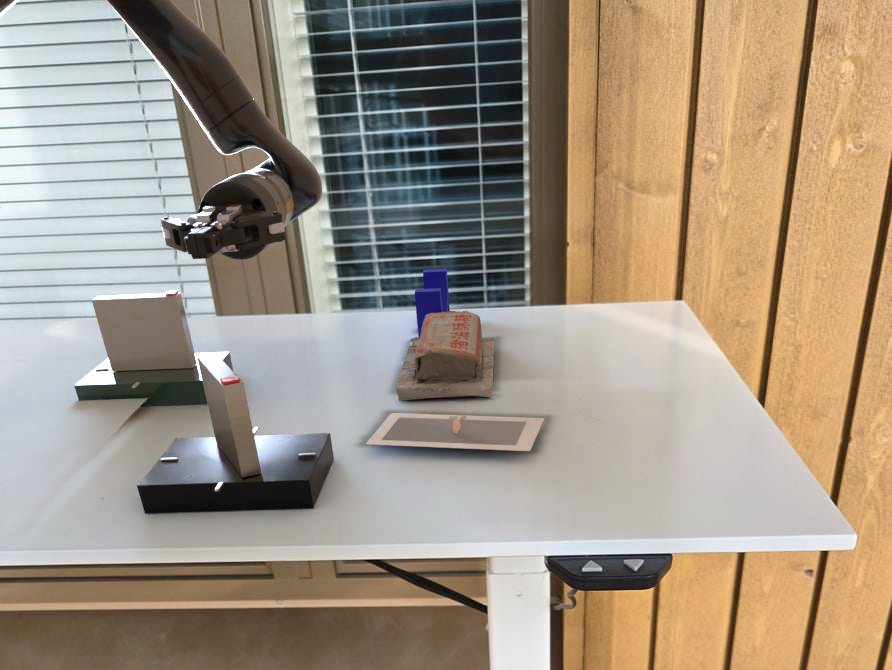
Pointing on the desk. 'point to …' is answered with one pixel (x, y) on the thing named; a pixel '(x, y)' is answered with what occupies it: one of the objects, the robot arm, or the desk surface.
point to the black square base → (238, 475)
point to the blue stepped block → (432, 295)
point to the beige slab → (145, 331)
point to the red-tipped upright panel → (229, 414)
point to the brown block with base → (448, 359)
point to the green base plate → (147, 384)
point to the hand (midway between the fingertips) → (197, 247)
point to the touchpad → (458, 431)
